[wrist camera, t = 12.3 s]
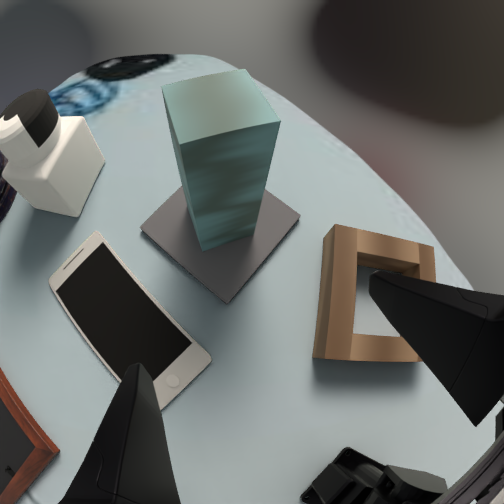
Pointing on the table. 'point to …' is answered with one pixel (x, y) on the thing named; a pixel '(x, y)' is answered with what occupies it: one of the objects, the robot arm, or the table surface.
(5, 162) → the storage jar
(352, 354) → the pocket block
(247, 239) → the mat
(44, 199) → the medicine bottle
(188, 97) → the peg
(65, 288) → the smartphone
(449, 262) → the table surface
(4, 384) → the picture frame
